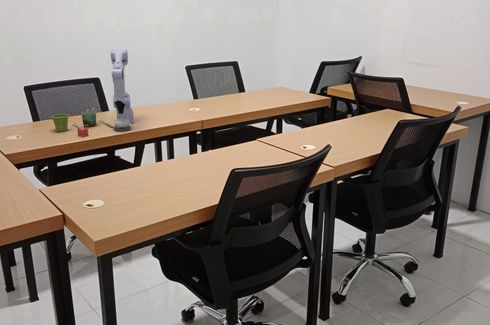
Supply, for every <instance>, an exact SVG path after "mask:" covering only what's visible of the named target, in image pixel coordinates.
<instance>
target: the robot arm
mask: <svg viewBox="0 0 490 325" xmlns="http://www.w3.org/2000/svg"><path fill="white" fill-rule="evenodd" d="M110 59H111V63H112V70H111V77H112V83H113V93H114V94H113V95H112V103H113V107H114V109H115V110H116V120H117V119H128V120H129V124H131V123H135V120H134V119H135V118H134V117H135V116H134V110H133V108H132V107H131V106H132V104H131V96H130V93H128V92H126V86H125V85H126V82H125V67H126V66H127V65H128V64H129V53H128V49H127V48H126V49H113V48H112V49H110Z"/></svg>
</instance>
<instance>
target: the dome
mask: <svg viewBox="0 0 490 325" xmlns="http://www.w3.org/2000/svg"><path fill="white" fill-rule="evenodd" d="M127 126H130V123H129V120H128V119H117V118H116V119H115V120H114V127H127Z"/></svg>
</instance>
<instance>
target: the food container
mask: <svg viewBox="0 0 490 325" xmlns="http://www.w3.org/2000/svg"><path fill="white" fill-rule="evenodd" d="M97 113H98V111H97V108H96V107H95V106H94V107H93V106H90V108H88V109H85V110H84V111H83V110H81V111H80V114H81V117H82V118H81V119H82V126H83V127H84V128H93V127H95V126H97Z"/></svg>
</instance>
